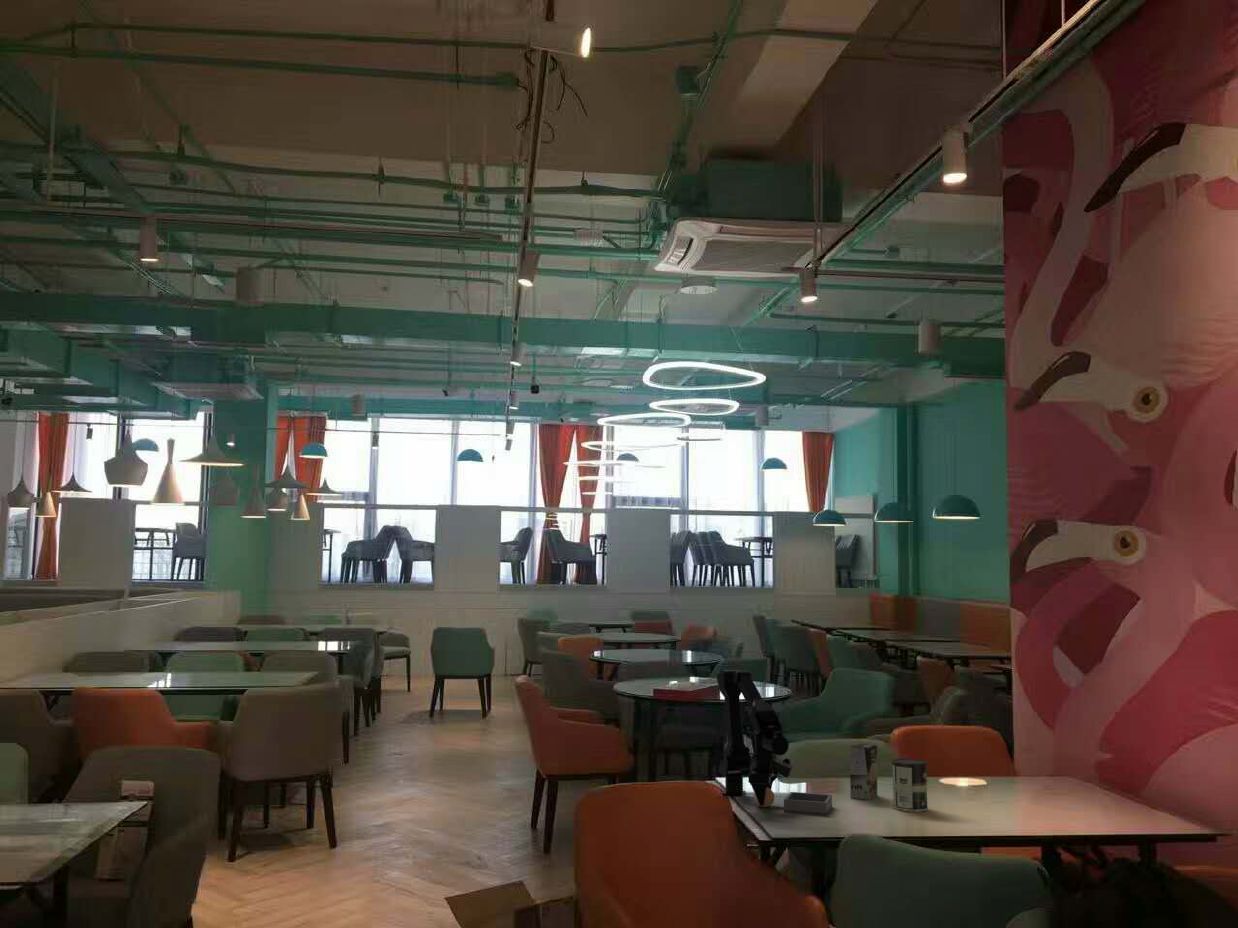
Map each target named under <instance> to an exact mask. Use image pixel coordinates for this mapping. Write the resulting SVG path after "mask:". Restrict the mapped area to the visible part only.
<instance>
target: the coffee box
mask: <svg viewBox="0 0 1238 928" xmlns="http://www.w3.org/2000/svg"><path fill="white" fill-rule="evenodd" d="M877 746H878V745H877V744H869V743H857V744H853V745H851V746H849V774H850V776H849V777H850V778H849V781H850V783H849V785H850V786H849V787H850V790H849V791H850V795H849V796H850V798H851V797H854V798H853V799H858V798H860V799H859V800H866V799H869V800H871V799H873V798H875V797H877V796H878V748H877ZM874 796H875V797H874ZM872 797H873V798H872Z"/></svg>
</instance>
